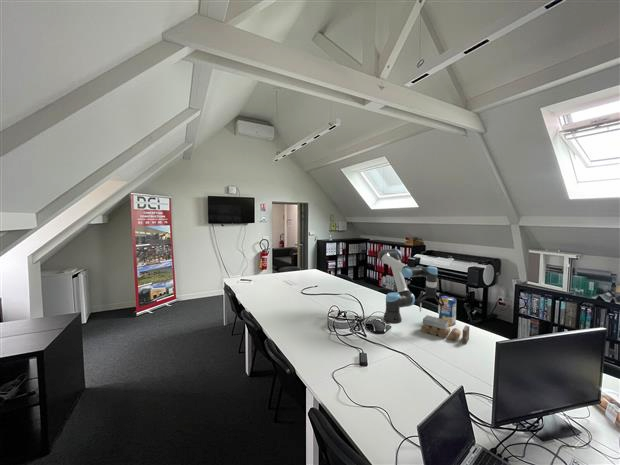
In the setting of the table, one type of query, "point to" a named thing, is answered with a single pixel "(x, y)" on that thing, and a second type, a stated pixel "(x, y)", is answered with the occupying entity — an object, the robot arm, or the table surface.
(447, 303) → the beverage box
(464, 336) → the cradle and stop
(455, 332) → the roller
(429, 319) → the slab
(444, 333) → the bed rollers
